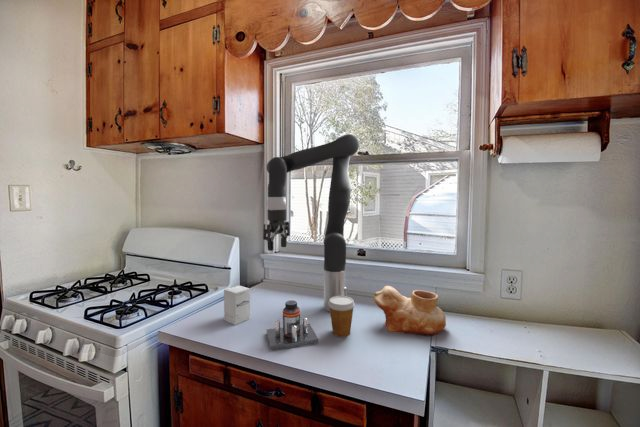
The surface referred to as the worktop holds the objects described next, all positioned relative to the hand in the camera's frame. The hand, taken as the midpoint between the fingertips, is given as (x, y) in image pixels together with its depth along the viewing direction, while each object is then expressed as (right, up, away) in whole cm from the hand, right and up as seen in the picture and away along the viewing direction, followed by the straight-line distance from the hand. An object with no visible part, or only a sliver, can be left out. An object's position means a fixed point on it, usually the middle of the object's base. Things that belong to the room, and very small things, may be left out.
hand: (277, 248), depth 115 cm
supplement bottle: (+7, -28, -16) cm, 33 cm away
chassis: (+7, -29, -16) cm, 34 cm away
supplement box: (-16, -29, -1) cm, 33 cm away
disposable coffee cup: (+25, -29, -12) cm, 40 cm away
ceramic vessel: (+50, -29, -7) cm, 59 cm away
